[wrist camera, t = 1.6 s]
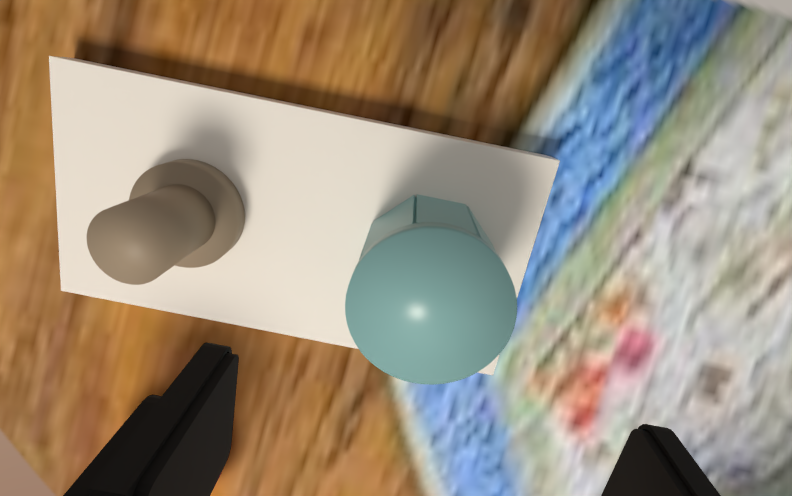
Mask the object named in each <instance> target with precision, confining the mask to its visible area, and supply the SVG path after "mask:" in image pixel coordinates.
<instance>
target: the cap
mask: <svg viewBox="0 0 792 496" xmlns="http://www.w3.org/2000/svg"><path fill="white" fill-rule="evenodd" d="M345 315H346V321H347V325H348V328H349V331H350V334H351V336H352V338H353V340H354V342H355V344H356V345H357V347H358V348H359V350H360V351H361V353H362V354H363V355H364V356H365V357H366V358H367V359H368V360H369V361H370V362H371V363H372V364H374V365H375V366H376V367H377V368H379V369H380V370H382V371H383V372H385V373H387V374H389V375H391V376H393V377H396V378H398V379H401V380H404V381H408V382H412V383H419V384H444V383H450V382H455V381H458V380H461V379H464V378H466V377H469V376H471V375H473V374H475V373H477V372H478V371H480V370H482V369H483V368H485V367H486V366H487V365H488V364H490V363H491V362H492V361H493V360H494V359H495V358H496V357H497V356H498V355H499V354H500V353H501V351H502V350H503V349H504V347H505V346H506V344H507V342H508V341H509V339H510V337H511V334H512V332H513V329H514V326H515V321H516V316H517V297H516V292H515V288H514V285H513V282H512V279H511V277H510V275H509V273H508V271H507V269H506V267H505V265H504V263H503V261H502V259H501V258H500V257H499V255H498V254H497V253H496V250H495V248H494V246H493V244H492V243H491V241H490V240H489V238H488V236H487V235H486V233H485V232H484V230H483V229H482V227H481V225H480V224H479V222H478V221H477V219H476V218H475V216H474V215H473V213H472V211H471V210H470V208H469V207H468V206H467V207H466V204H462V203H458V202H453V201H448V200H443V199H438V198H433V197H428V196H423V195H418V194H417V197H415V196H414V195H413V196H411V197H410V198H408V199H407V200H405V201H404V202H402V203H400V204H399V205H397V206H396V207H394V208H393V209H391V210H390V211H388V212H387V213H385V214H383V215H382V216H380V217H379V218H377V219H376V220H374V221H373V224H371V227H370V230H369V233H368V236H367V238H366V241H365V244H364V247H363V250H362V253H361V255H360V258H359V261H358V263H357V265H356V267H355V269H354V272H353V274H352V277H351V279H350V282H349V285H348V289H347V293H346V300H345Z"/></svg>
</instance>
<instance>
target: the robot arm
mask: <svg viewBox="0 0 792 496" xmlns="http://www.w3.org/2000/svg"><path fill="white" fill-rule="evenodd" d="M238 362H239V357H238V355H235V354H232V350H231V347H228V346H223V345H217V344H212V343H204V344H203V345H202V346H201V348H200V349H199V350H198V351H197V353H196V354H195V355H194V356H193V358H192V359H191V360H190V362H189V363H188V364H187V365H186V367H185V368H184V369H183V370H182V372H181V373H180V374H179V375H178V377H177V378H176V379H175V380H174V382H173V383H172V384H171V385H170V387H169V388H168V389H167V391H166V392H165V393H164V394H163V396H157V395H150V396H148V397H147V398H146V399H145V400H143V401H142V403H141V404H140V405H139V406H138V407H137V409H136V410H135V411H134V412H133V413H132V415H131V416H130V417H129V418H128V419H127V420H126V422H125V423H124V424H123V425H122V426H121V428H120V429H119V430H118V431H117V432H116V434H115V435H114V436H113V437H112V438H111V440H110V441H109V442H108V443H107V444H106V445H105V447H104V448H103V449H102V450H101V451H100V453H99V454H98V455H97V456H96V457H95V459H94V460H93V461H92V462H91V463H90V464H89V466H88V467H87V468H86V469H85V470H84V472H83V473H82V474H81V475H80V476H79V478H78V479H77V480H76V481H75V482H74V484H73V485H72V486H71V487H70V488H69V489H68V491H67V492H66V493H65V494H64V495H63V496H210V494H211V492H212V490H213V488H214V486H215V484H216V482H217V480H218V478H219V476H220V474H221V472H222V470H223V468H224V466H225V464H226V461H227V459H228V456H229V453H230V449H231V441H232V430H233V418H234V407H235V396H236V384H237V373H238ZM601 496H720V494H719V493H718V492H717V490H716V489H715V488H714V486H713V485H712V484H711V482H710V481H709V479H708V478H707V477H706V475H705V474H704V473H703V471H702V470H701V469H700V467H699V466H698V465H697V463H696V462H695V460H694V459H693V458H692V456H691V455H690V454H689V452H688V451H687V450H686V448H685V447H684V446H683V444H682V443H681V441H680V440H679V439H678V437H677V436H676V435H675V433H674V432H673V431H672V430H670V429H668V428H664V427H658V426H653V425H648V424H642V425H641V426H639V428H638V429H634V430H633V431H632V432H631V433H630V436H629V438H628V440H627V442H626V444H625V446H624V448H623V450H622V453H621V455H620V457H619V459H618V461H617V463H616V465H615V468H614V470H613V472H612V474H611V476H610V478H609V480H608V483H607V485H606V487H605V489H604V491H603V493H602V495H601Z"/></svg>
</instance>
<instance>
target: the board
mask: <svg viewBox="0 0 792 496" xmlns="http://www.w3.org/2000/svg"><path fill="white" fill-rule="evenodd" d="M49 66H50V85H51V105H52V124H53V143H54V162H55V182H56V201H57V220H58V239H59V259H60V278H61V291H66V292H71V293H76V294H81V295H86V296H91V297H96V298H101V299H107V300H112V301H117V302H122V303H127V304H132V305H137V306H142V307H147V308H152V309H158V310H163V311H168V312H173V313H178V314H183V315H188V316H193V317H198V318H203V319H209V320H214V321H219V322H224V323H229V324H234V325H239V326H244V327H249V328H254V329H260V330H265V331H270V332H275V333H280V334H285V335H290V336H295V337H300V338H305V339H311V340H316V341H321V342H326V343H331V344H336V345H341V346H346V347H351V348H356V349H359V348H358V347H357V345H356V344H355V342H354V340H353V338H352V336H351V334H350V331H349V328H348V325H347V321H346V315H345V300H346V293H347V289H348V285H349V282H350V279H351V277H352V274H353V272H354V269H355V267H356V265H357V263H358V261H359V258H360V255H361V253H362V250H363V247H364V244H365V241H366V238H367V236H368V233H369V230H370V227H371V224H373V221H374V220H376V219H377V218H379V217H380V216H382V215H383V214H385V213H387V212H388V211H390V210H391V209H393V208H394V207H396V206H397V205H399V204H400V203H402V202H404V201H405V200H407V199H408V198H410V197H411V196H413V195H414V196H415V197H417V194H418V195H423V196H428V197H433V198H438V199H443V200H448V201H453V202H458V203H462V204H466V207H467V206H468V207H469V208H470V210H471V211H472V213H473V215H474V216H475V218H476V219H477V221H478V222H479V224H480V225H481V227H482V229H483V230H484V232H485V233H486V235H487V236H488V238H489V240H490V241H491V243H492V244H493V246H494V248H495V250H496V253H497V254H498V255H499V257H500V258H501V259H502V261H503V263H504V265H505V267H506V269H507V271H508V273H509V275H510V277H511V279H512V282H513V285H514V288H515V292H516V297H518V293H519V290H520V287H521V284H522V281H523V277H524V274H525V271H526V268H527V265H528V261H529V258H530V255H531V252H532V249H533V245H534V242H535V239H536V236H537V233H538V229H539V226H540V223H541V220H542V216H543V213H544V210H545V207H546V204H547V200H548V197H549V194H550V191H551V188H552V184H553V181H554V178H555V175H556V172H557V168H558V165H559V162H560V161H559V160H557V159H555V158H553V157H551V156H548V155H543V154H538V153H533V152H528V151H523V150H518V149H513V148H509V147H504V146H499V145H494V144H489V143H484V142H479V141H475V140H470V139H465V138H460V137H455V136H450V135H445V134H440V133H436V132H431V131H426V130H421V129H416V128H411V127H406V126H402V125H397V124H392V123H387V122H382V121H377V120H372V119H367V118H363V117H358V116H353V115H348V114H343V113H338V112H333V111H329V110H324V109H319V108H314V107H309V106H304V105H299V104H294V103H290V102H285V101H280V100H275V99H270V98H265V97H260V96H256V95H251V94H246V93H241V92H236V91H231V90H226V89H222V88H217V87H212V86H207V85H202V84H197V83H192V82H187V81H183V80H178V79H173V78H168V77H163V76H158V75H153V74H149V73H144V72H139V71H134V70H129V69H124V68H119V67H114V66H110V65H105V64H100V63H95V62H90V61H85V60H80V59H76V58H67V57H56V56H49ZM498 357H499V355H498V356H497V357H496V358H495V359H494V360H493V361H492V362H491V363H490V364H488V365H487V366H486V367H485V368H483V369H482V370H480V371H478V372H479V373H484V374H489V375H493V373H494V370H495V367H496V364H497V361H498Z"/></svg>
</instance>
